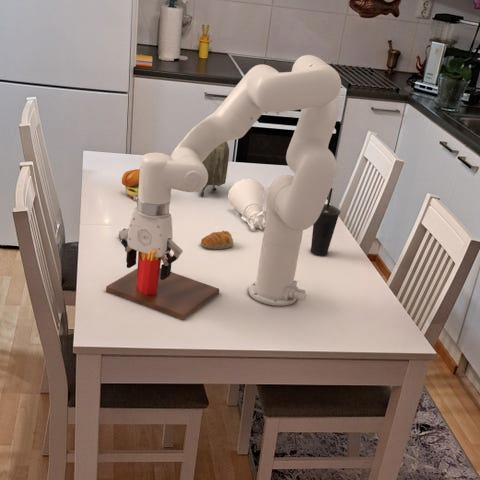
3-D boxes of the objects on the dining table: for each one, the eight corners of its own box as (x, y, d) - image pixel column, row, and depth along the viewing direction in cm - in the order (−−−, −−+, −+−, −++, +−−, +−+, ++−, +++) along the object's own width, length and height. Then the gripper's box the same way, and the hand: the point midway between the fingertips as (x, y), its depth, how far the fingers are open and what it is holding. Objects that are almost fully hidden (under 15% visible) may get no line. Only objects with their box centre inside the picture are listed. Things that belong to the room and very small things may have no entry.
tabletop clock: (193, 183, 276) (201, 111, 265) (219, 185, 278) (228, 113, 267) (196, 198, 264) (205, 123, 252) (223, 200, 265) (233, 125, 254)
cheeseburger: (156, 203, 254) (151, 173, 250) (123, 206, 255) (117, 176, 250) (159, 191, 263) (154, 162, 259) (127, 195, 264) (121, 166, 259)
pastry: (209, 252, 226) (210, 240, 224) (194, 243, 231) (196, 231, 229) (234, 247, 232) (236, 235, 230) (220, 238, 236) (222, 226, 235)
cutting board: (218, 294, 204) (219, 288, 204) (183, 320, 189) (183, 314, 189) (145, 268, 212) (146, 263, 211) (105, 291, 197) (106, 286, 196)
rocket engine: (267, 204, 239) (252, 172, 252) (234, 224, 241) (221, 191, 254) (284, 229, 246) (269, 196, 259) (252, 248, 249) (239, 215, 261)
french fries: (133, 280, 201) (137, 233, 195) (150, 280, 203) (154, 232, 197) (143, 298, 194) (148, 248, 188) (160, 297, 195) (165, 248, 189)
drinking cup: (336, 254, 237) (350, 190, 228) (321, 260, 232) (334, 194, 223) (316, 245, 242) (328, 182, 232) (300, 250, 236) (312, 186, 227)
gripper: (113, 200, 188) (109, 266, 196) (176, 220, 182) (170, 288, 190) (131, 192, 194) (126, 257, 202) (193, 212, 188) (186, 277, 196)
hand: (147, 272), depth 196 cm, fingers open, 9 cm apart
